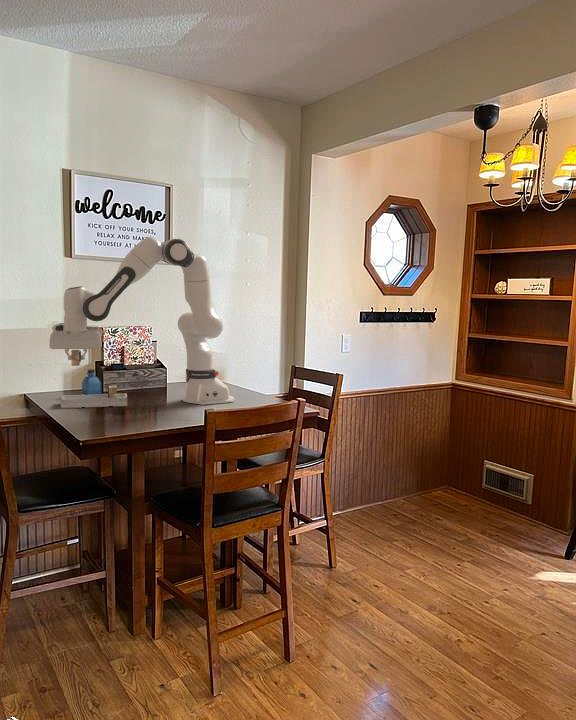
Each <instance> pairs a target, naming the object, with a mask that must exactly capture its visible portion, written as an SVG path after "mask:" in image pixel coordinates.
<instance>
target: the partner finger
mask: <svg viewBox="0 0 576 720" xmlns="http://www.w3.org/2000/svg"><path fill="white" fill-rule="evenodd" d="M117 389H118V388H117V384H116V385H109V386H108V387H107V394H108V398H114V397H117V394H118V393H117Z"/></svg>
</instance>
